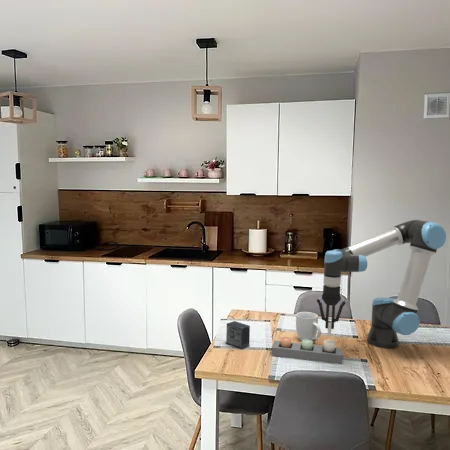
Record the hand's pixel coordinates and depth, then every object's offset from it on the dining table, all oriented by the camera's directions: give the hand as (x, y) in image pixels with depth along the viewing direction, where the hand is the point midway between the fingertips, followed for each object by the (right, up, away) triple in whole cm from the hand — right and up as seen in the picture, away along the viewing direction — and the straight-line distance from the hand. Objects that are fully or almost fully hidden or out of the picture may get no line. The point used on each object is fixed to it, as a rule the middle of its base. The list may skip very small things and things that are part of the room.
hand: (329, 335), depth 199 cm
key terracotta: (-19, -7, +6) cm, 21 cm away
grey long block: (-10, -11, +4) cm, 15 cm away
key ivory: (0, -7, +1) cm, 7 cm away
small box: (-41, -9, +16) cm, 45 cm away
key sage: (-10, -7, +3) cm, 13 cm away
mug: (-5, -9, +23) cm, 26 cm away
